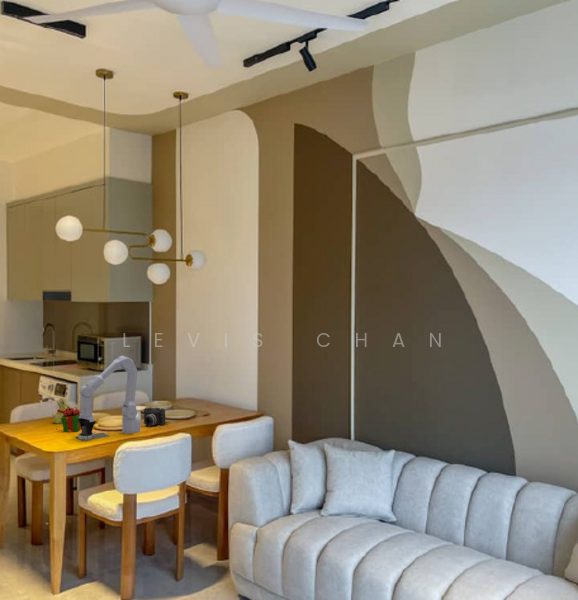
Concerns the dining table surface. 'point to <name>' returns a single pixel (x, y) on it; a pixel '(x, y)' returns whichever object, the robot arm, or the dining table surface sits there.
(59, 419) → the chocolate bunny
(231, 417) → the dining table surface
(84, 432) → the dark grey block
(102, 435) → the lens mount
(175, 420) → the dining table surface
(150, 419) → the camera
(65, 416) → the gift wrap
